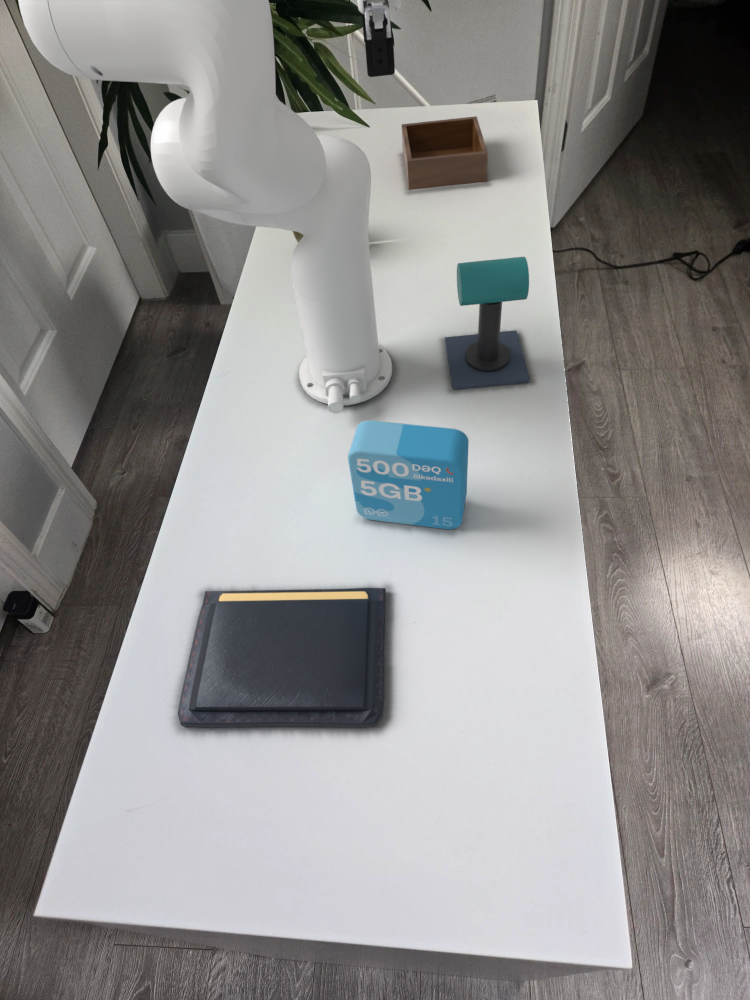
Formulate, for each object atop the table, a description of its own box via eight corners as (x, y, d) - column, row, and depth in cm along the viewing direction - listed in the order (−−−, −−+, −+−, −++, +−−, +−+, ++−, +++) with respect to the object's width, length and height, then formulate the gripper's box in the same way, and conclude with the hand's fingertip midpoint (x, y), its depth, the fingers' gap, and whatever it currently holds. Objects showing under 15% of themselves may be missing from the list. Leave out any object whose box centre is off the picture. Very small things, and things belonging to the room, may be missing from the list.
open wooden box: (486, 184, 124) (487, 152, 119) (408, 192, 124) (407, 161, 120) (475, 146, 132) (476, 116, 128) (402, 154, 132) (401, 124, 128)
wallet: (169, 719, 67) (202, 580, 76) (175, 726, 68) (207, 589, 77) (381, 726, 65) (389, 582, 74) (382, 733, 66) (390, 591, 75)
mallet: (521, 369, 94) (531, 275, 82) (460, 375, 94) (462, 281, 82) (513, 339, 97) (522, 245, 86) (455, 345, 98) (456, 252, 86)
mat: (529, 382, 93) (529, 379, 92) (453, 389, 93) (453, 386, 93) (516, 333, 99) (516, 330, 98) (444, 340, 99) (444, 337, 99)
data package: (357, 519, 81) (345, 449, 72) (365, 488, 84) (355, 417, 75) (461, 531, 79) (463, 462, 70) (466, 500, 82) (469, 428, 72)
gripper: (409, -109, 67) (416, 85, 81) (396, -150, 78) (404, 27, 91) (331, -99, 67) (350, 92, 81) (328, -142, 78) (346, 34, 91)
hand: (379, 58), depth 86 cm, fingers open, 9 cm apart
